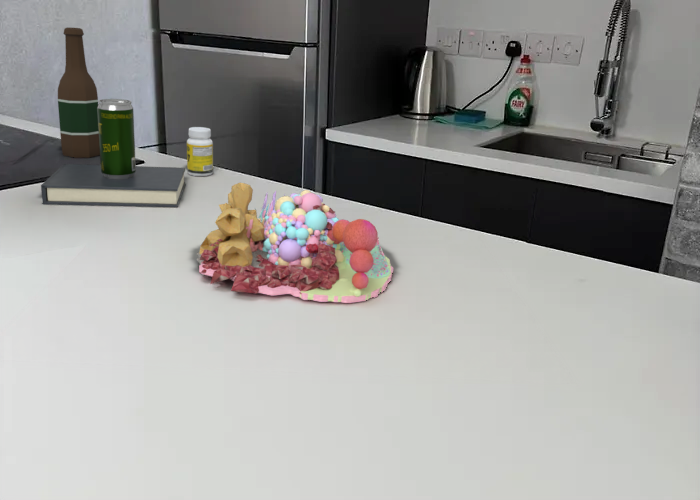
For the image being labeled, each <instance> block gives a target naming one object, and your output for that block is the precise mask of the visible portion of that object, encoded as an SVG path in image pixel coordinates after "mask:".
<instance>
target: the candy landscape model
mask: <svg viewBox="0 0 700 500" xmlns="http://www.w3.org/2000/svg"><path fill="white" fill-rule="evenodd" d="M253 193H254V189H253V188H252V186H251V184H248V183H244V182H237V183H235V184H233V185H231V191H230V192H229V193H228V194H227V202H225V203H221V204H218V206H219V209H220V212H221V213H220V214H219V215H218V216H217V218H216V220H215V221H214V223H215V225H216V226H217V229H214V230H212V231H210V232H209V233H208V234H207V235H206V237H205V238H204V240H203V242H202V243H201V245H200V246H199V251H198V252H196V253H195V254H196V256H197V258H196V262H198V264H199V265H198V273H199V274H201V275H205V276H209V277H211V280H210V283H209V285H212V284H216V283H218V282H223V281H225V280H231V281H232V282H233V283H232V287H231V289H230V292H237V293H249V294H263V295H267V296H281V295H292V296H293V297H296V298H299V299H301V300H304V301H308V300H309V301H310V300H311V301H315V302H320V303H326V302H332V303H343V304H351V303H359V302H360V303H361V302H367V301H368V300H370V299H373V298H372V297H374V298H377V297H378V296H379V295H380V294H381V293H384V292H385V291H386V290H385V289H387V288H388V285H389V284H390V283H391V282H392V277H393V274H394V268H395V267H393V266H392V265H391V260H390V258H389V257H387V256H386V255H385V253H384V251H383V248H382V246H380V242H379V238H380V236H378V234H379V233H378V230H377V229H376V226H375V225H374V224H373V223H372V222H371V221H370V220H367V219H363V218H358V219H354V220H352V221H349V220H347V219H344V218H343V219H339V217H337V214H336V211H335V210H334V209H333V208H331V207H330V206H329V205H327V204H325V203H323V202H324V199H323V197H322V196H321V195H320V194H316V193H313V192H311V191H310V190H308V189H304V190H302V191H301V192H300V193H296V192H292V193H291V194H289V195H286V193H284V195H283V196H281V197H279V198H276V197H277V190H275V191H274V193H272V198H271V202H270V203H268V193H266V194H265V197H264V199H263V204H262V207H261V210H260V214H259V215H258V214H257V213H258V212H257V209H256V208H254V209H249V205H250V203H251V201H252V200H253ZM276 199H277V200H276ZM267 203H268V204H267ZM392 273H393V274H392ZM390 281H391V282H390ZM389 282H390V283H389ZM388 283H389V284H388ZM386 287H387V288H386ZM383 291H384V292H383ZM380 292H381V293H380ZM378 294H379V295H378ZM366 300H367V301H366Z"/></svg>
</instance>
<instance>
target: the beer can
mask: <svg viewBox="0 0 700 500" xmlns="http://www.w3.org/2000/svg"><path fill="white" fill-rule="evenodd" d="M97 112H98V129H99V146H100V155H99V161H100V162H99V164H100V165H101V173H102V175H103V176H104V177H105V178H108V179H128V178H132V177H133V176H134V175H135V172H136V166H137V165H136V143H135V117H134V107H133V105H132V100H131V99H130V100H129V99H123V98H103V99H98V107H97Z"/></svg>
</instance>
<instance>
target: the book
mask: <svg viewBox="0 0 700 500" xmlns="http://www.w3.org/2000/svg"><path fill="white" fill-rule="evenodd" d="M185 172H186V167H174V166H173V167H171V166H146V165H145V166H143V165H142V166H141V165H136V172H135V175H134V176H133V177H132V178H128V179H108V178H105V177H104V176H103V175H102V173H101V164H83V163H82V164H80V163H63V165H61V166H60V167H59V168H58V169H57V170H56V171H55V172H54V173H52V175H50V176H49V177H48V178H47V179H46V180H44V182H42V184H40V190H41V200H42V201H41V203H42V204H43V205H60V206H61V205H63V206H65V205H66V206H67V205H69V206H70V205H71V206H103V207H104V206H105V207H106V206H108V207H110V206H112V207H150V208H152V207H153V208H178V207H179V204H180V201H181V200H182V199H181V198H182V196H183V193H184V189H185V187H186V182H185Z"/></svg>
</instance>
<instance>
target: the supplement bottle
mask: <svg viewBox="0 0 700 500" xmlns="http://www.w3.org/2000/svg"><path fill="white" fill-rule="evenodd" d="M187 135H188V139H187V140H186V171H187V174H188V175H190V176H193V177H208V176H212V175H213V174H214V150H213V149H214V141H213V140H212V139H211V137H212V130H211V128H209V127H205V126H204V127H203V126H192V127H189V128H188V133H187Z"/></svg>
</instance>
